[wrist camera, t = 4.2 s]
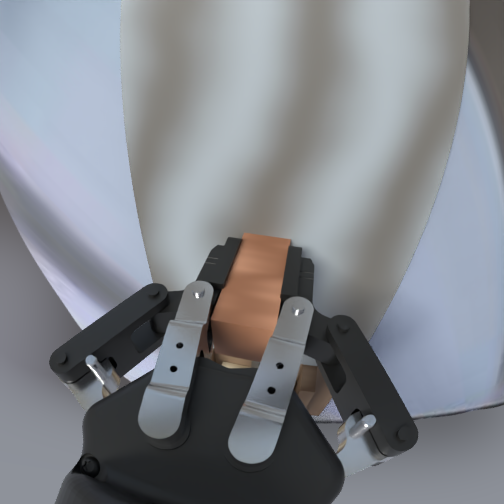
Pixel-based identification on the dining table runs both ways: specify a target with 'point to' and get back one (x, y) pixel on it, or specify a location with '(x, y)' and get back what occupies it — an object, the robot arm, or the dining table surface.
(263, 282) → the rod-linked blocks
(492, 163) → the dining table surface
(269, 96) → the lane rack
